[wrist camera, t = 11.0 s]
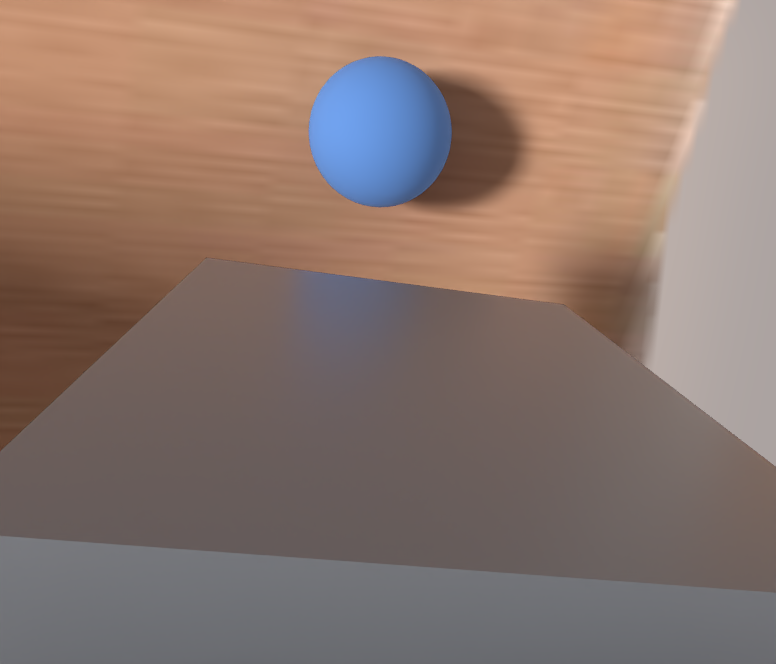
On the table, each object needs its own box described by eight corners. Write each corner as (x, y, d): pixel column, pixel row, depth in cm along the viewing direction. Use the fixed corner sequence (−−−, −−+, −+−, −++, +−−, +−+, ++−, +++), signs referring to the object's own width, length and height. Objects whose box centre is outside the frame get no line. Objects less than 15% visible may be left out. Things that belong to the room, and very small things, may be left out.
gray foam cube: (492, 587, 15) (671, 1121, 7) (188, 566, 14) (-17, 1153, 6) (564, 304, 13) (956, 606, 5) (205, 257, 12) (-84, 528, 4)
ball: (415, 0, 19) (389, 95, 24) (281, 56, 18) (282, 145, 23) (499, 122, 19) (456, 194, 24) (367, 188, 18) (350, 251, 22)
